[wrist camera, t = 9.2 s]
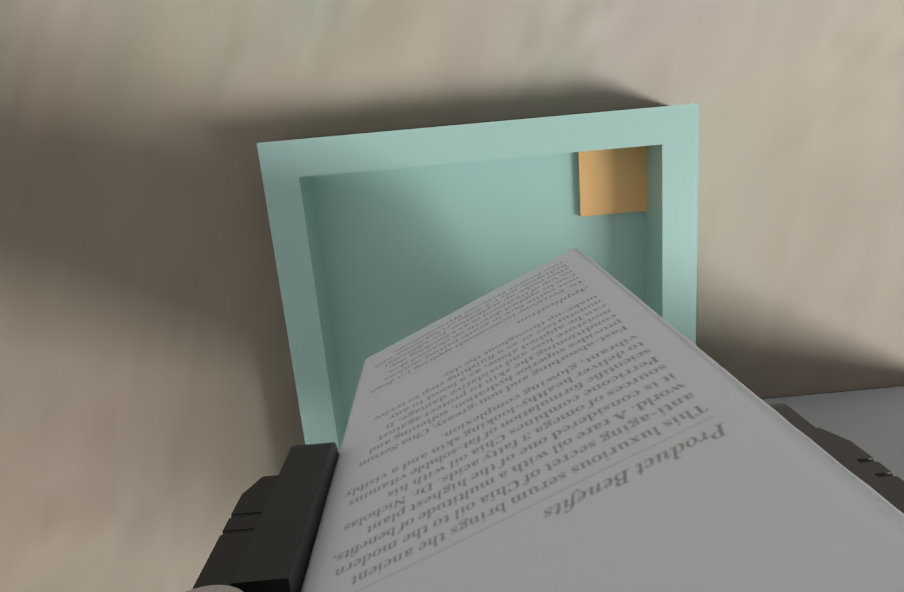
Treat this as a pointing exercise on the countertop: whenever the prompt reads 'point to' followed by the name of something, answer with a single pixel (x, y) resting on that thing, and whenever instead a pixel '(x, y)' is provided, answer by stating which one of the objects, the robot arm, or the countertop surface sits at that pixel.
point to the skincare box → (584, 462)
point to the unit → (859, 420)
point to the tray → (468, 228)
